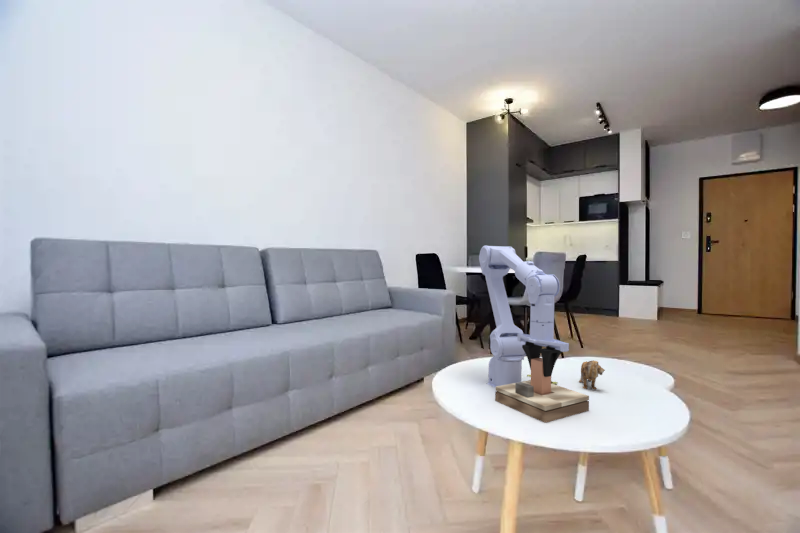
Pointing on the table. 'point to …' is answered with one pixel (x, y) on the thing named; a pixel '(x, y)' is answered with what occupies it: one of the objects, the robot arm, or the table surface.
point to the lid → (544, 402)
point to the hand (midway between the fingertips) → (540, 374)
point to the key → (551, 381)
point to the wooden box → (539, 413)
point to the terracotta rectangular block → (539, 377)
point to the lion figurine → (590, 373)
